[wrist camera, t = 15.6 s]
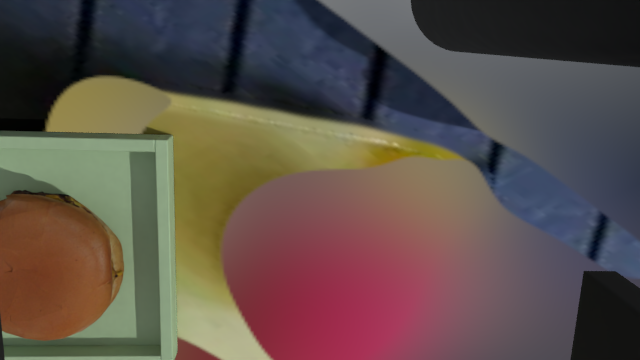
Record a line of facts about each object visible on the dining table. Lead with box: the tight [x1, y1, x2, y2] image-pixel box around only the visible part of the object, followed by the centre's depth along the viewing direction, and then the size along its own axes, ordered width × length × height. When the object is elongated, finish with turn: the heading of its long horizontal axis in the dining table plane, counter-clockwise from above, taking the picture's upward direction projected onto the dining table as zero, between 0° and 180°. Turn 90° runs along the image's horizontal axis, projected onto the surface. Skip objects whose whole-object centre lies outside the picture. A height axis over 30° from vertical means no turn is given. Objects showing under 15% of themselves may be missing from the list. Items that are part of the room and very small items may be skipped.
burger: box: [0, 190, 124, 341], centre depth 37 cm, size 10×9×5 cm
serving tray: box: [0, 131, 177, 360], centre depth 39 cm, size 16×16×2 cm
